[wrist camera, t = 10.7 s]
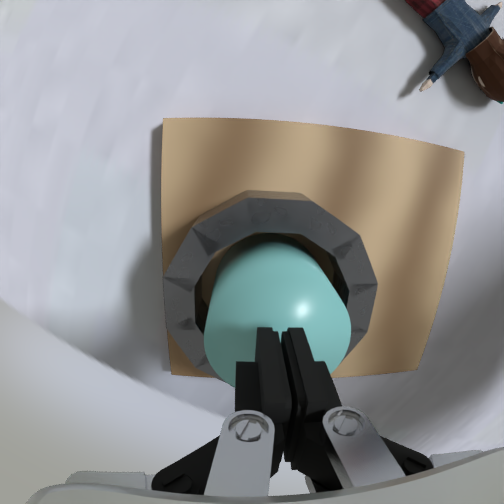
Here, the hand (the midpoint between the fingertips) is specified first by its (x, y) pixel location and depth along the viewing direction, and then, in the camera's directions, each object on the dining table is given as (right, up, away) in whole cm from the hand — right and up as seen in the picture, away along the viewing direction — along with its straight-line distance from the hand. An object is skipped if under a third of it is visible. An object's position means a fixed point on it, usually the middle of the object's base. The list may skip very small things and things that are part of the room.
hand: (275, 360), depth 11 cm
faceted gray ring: (0, +2, +7) cm, 7 cm away
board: (+3, +3, +8) cm, 9 cm away
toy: (+12, +20, +3) cm, 24 cm away
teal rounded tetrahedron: (0, +2, +7) cm, 7 cm away
